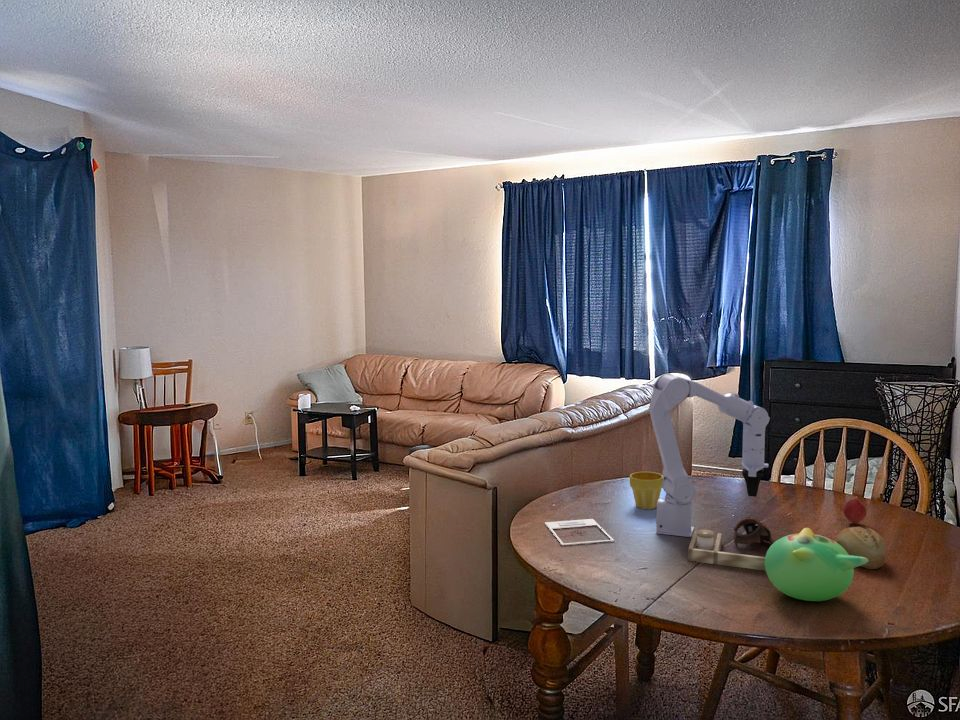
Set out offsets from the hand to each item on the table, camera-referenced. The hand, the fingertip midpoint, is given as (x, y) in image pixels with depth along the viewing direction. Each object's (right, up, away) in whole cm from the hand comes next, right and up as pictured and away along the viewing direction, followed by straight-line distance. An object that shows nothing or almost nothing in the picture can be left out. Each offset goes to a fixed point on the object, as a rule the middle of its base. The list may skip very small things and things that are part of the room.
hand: (752, 495), depth 201 cm
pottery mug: (-4, -11, -11) cm, 16 cm away
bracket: (-11, -12, -19) cm, 25 cm away
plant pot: (-25, -8, +22) cm, 34 cm away
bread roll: (+18, -12, -23) cm, 32 cm away
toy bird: (-4, -15, -43) cm, 46 cm away
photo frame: (-49, -11, 0) cm, 50 cm away
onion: (+30, -9, +3) cm, 31 cm away
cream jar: (-19, -12, -17) cm, 28 cm away
